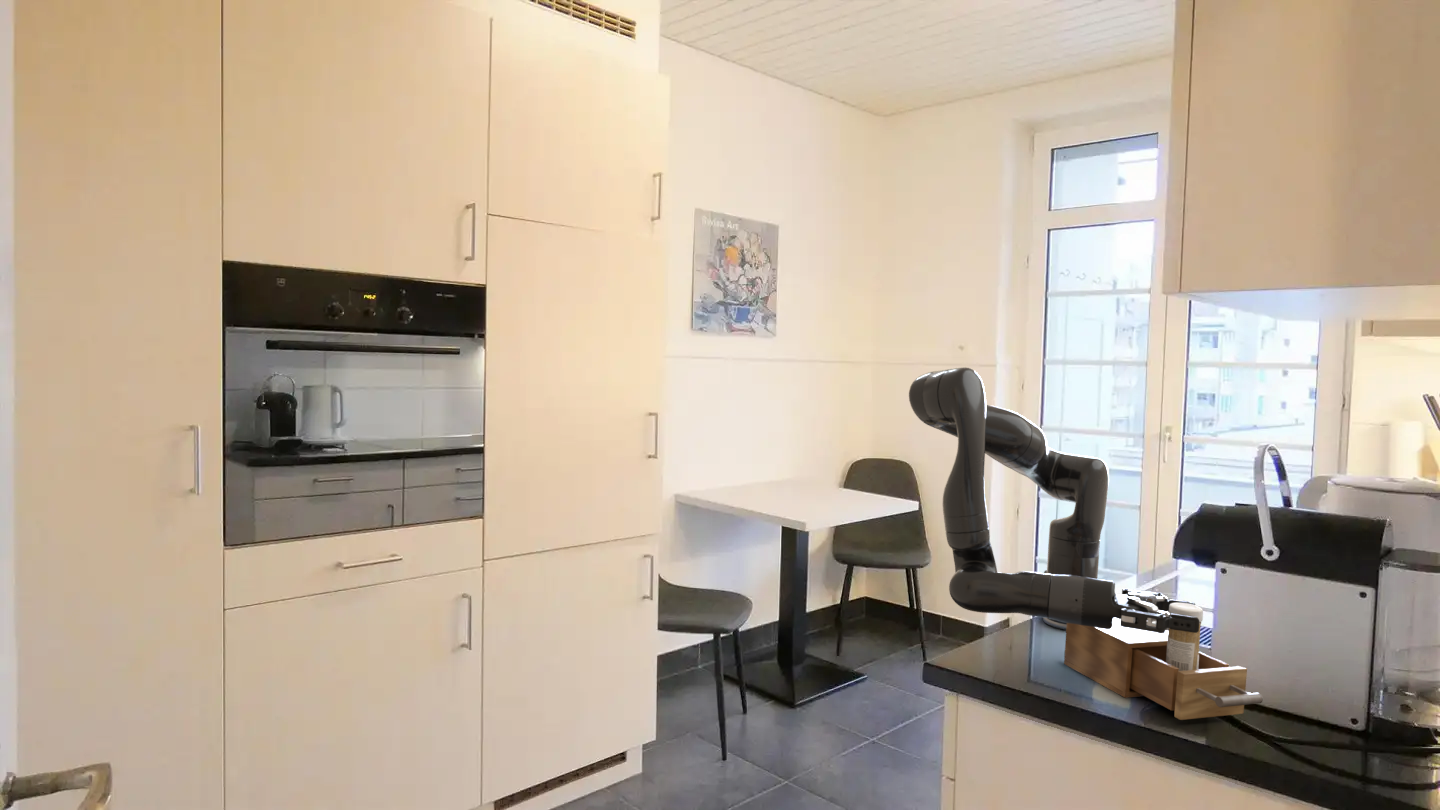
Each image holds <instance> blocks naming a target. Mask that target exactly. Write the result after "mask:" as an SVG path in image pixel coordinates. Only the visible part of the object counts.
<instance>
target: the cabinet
mask: <svg viewBox="0 0 1440 810" xmlns="http://www.w3.org/2000/svg"><path fill="white" fill-rule="evenodd" d="M1120 621H1121V619H1117V618H1113V622H1112V628H1111V629H1103V628H1096V627H1090V626H1084V625H1077V624H1071V623H1067V626H1066V630H1065V640H1064V641H1065V642H1064V643H1065V644H1064V658H1063V659H1064V660H1063V664H1064V665H1065V666H1066V667H1068V668H1070V669H1072V670H1074V671H1076V672H1078V673H1079V674H1081V675H1083V676H1085V677H1086V678H1088V679H1090V680H1092V681H1094V682H1095V683H1098V684H1100V685H1101V686H1103V687H1105V688H1106V689H1108V690H1110V691H1111V692H1114V693H1116V694H1117V695H1119V696H1120V697H1123V698H1125V699H1127V698H1137V697H1144V696H1143V695H1141V694H1140V693H1138V692H1136V691H1134V690H1132V689H1130V675H1131V661H1132V648H1142V647H1156V646H1167V641H1168V632H1169V630H1167V631H1165V633H1157V632H1151V631H1146V630H1140V629H1134V628H1128V627H1122V626H1120Z"/></svg>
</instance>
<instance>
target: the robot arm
mask: <svg viewBox="0 0 1440 810" xmlns="http://www.w3.org/2000/svg"><path fill="white" fill-rule="evenodd" d="M986 398H987V397H986V392H985V386H984V383H983V379H982V378H981V376H980V375H979V374H978V372H976V370H974V369H972V368H970V367H966V366H965V367H955V368H954V367H953V368H949V369H942V370H934V371H928V372H926V373H923V374H920V375H919V376H918V377H916V378H915V379H914V380H913V381H912V383H911V385H910V387H909V391H908V401H909V404H910V407H911V409H912V411H913V414H914V415H915V416H916V417H917V419H918V420H920V421H921V422H923V424H925V425H926V426H929V427H931V428H934V429H937V430H940V431H942V432H944V433H947V434H949V435H951V436H953V437H955V438H957V448H956V449H957V450H956V455H955V459H954V462H953V464H952V467H951V470H950V472H949V475H948V477H947V480H946V483H945V485H944V489H943V493H942V512H943V514H942V515H943V522H944V531H945V537H946V541H947V544H948V547H949V548H950V549H951V550H952V554H953V555H952V556H953V562H954V570H955V571H954V572H955V573H954V574H953V575H952V577H951V578H950V581H949V584H948V591H949V595H950V597H951V599H952V601H953V602H954V603H955V604H956V605H958V606H959V607H960V608H962V609H964V610H967V611H971V612H974V613H975V612H976V613H980V614H981V613H982V614H1021V615H1025V616H1031V617H1035V618H1036V617H1037V618H1041V619H1042V621H1043V623H1045V624H1047V625H1048V626H1050V627H1053V628H1057V629H1060V630H1065V631H1066V626H1067V623H1071V624H1077V625H1084V626H1090V627H1096V628H1103V629H1111V628H1112V622H1113V618H1117V619H1121V621H1120V626H1122V627H1128V628H1134V629H1140V630H1146V631H1151V632H1157V633H1165V631H1167V630H1169V628H1170V629H1173V630H1179V631H1186V632H1193V633H1197V632H1198V631H1199V619H1198V618H1197V617H1193V616H1187V615H1180V614H1173V613H1171V616H1170V613H1169V605H1170V604H1171V603H1188V604H1193V605H1196V603H1195V602H1193V601H1187V600H1181V599H1173V598H1169V597H1167V596H1166V595H1164V593H1162V592H1156V591H1155V592H1154V591H1148V590H1147V591H1145V590H1139V589H1138V590H1137V589H1131V588H1122V589H1121V593H1116V592H1115V591H1116V583H1115V582H1114V581H1113V580H1111V579H1104V578H1103V579H1102V578H1098V577H1099V561H1100V549H1101V547H1100V546H1101V533H1102V530H1103V528H1104V524H1105V518H1106V508H1107V500H1108V492H1109V485H1110V484H1109V483H1110V474H1109V468H1108V466H1107V463H1106V462H1105V461H1104V460H1103V459H1101V458H1098V457H1094V456H1088V455H1080V454H1074V453H1073V454H1072V453H1067V452H1062V451H1057V450H1055V449H1053V448H1051V447H1049V446H1048V440H1047V438H1046V435H1045V433H1044V432H1043V430H1042V429H1041V428H1040V427H1038V426H1037V424H1035V423H1033V422H1032V421H1031V420H1029V419H1027V417H1025V416H1023V415H1021V414H1019V413H1018V412H1015V411H1013V410H1010V409H1006V408H1002V407H999V406H994V405H989V404H987V399H986ZM986 455H987V456H989V457H990V458H991V459H993V460H994V461H996V462H998V463H999V464H1001V465H1002V466H1004V467H1007V468H1009V469H1010V470H1012V471H1014V472H1016V473H1018V474H1020V475H1022V476H1025V478H1028V479H1029V480H1031V481H1032V482H1033V483H1034V484H1035V485H1036V486H1038V487H1039V488H1040V489H1041V490H1042V491H1044V492H1045V493H1046V494H1047V495H1048V496H1050V497H1052V498H1054V499H1056V500H1059V501H1064V502H1068V503H1074V504H1075V505H1074V509H1073V513H1072V514H1070V515H1068V516H1064V517H1059V518H1055V519H1051V521H1050V523H1049V530H1048V547H1047V562H1046V569H1045V570H1044V571H1043V572H1039V571H1031V570H1020V571H1017V572H1012V573H1009V572H999V571H998V569H997V564H996V563H997V562H996V559H995V555H994V550H993V547H992V544H991V539H990V537H991V535H990V526H989V525H990V524H989V516H988V508H987V501H986V490H985V464H986V463H985V462H986Z"/></svg>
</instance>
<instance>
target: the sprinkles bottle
mask: <svg viewBox="0 0 1440 810" xmlns="http://www.w3.org/2000/svg"><path fill="white" fill-rule="evenodd" d="M1169 613H1170V616H1171V613H1173V614H1180V615H1187V616H1193V617H1197V618H1198V619H1199V631H1198V632H1197V633H1193V632H1186V631H1179V630H1173V629H1170V628H1169V632H1168V641H1167V654H1166V663H1168V664H1170V665H1172V666H1175V667H1177V668H1179V671H1186V670H1198V666H1199V651H1200V643H1201V642H1200V641H1201V625H1202V622H1203V618H1204V610H1203V608H1202V607H1201V606H1198V605H1196V604H1195V605H1193V604H1188V603H1171V604H1170V605H1169Z"/></svg>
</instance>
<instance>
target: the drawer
mask: <svg viewBox="0 0 1440 810" xmlns="http://www.w3.org/2000/svg"><path fill="white" fill-rule="evenodd" d="M1166 654H1167V646H1156V647H1142V648H1132V661H1131V675H1130V689H1132V690H1134V691H1136V692H1138V693H1140V694H1141V695H1143V696H1142V697H1145V698H1147V699H1149V700H1150V701H1153V702H1154V703H1156V704H1158V705H1160V706H1162V707H1164V708H1166V709H1168V710H1170V711H1174V718H1175V719H1178V720H1179V721H1186V720H1196V719H1205V718H1215V717H1223V716H1234V715H1243V714H1244V711H1245V706H1246V705H1247V706H1248V705H1256V704H1258V705H1259V704H1262V703H1263V701H1264V698H1263V695H1262V694H1260V693H1259V692H1253V693H1251V692H1249V691H1247V690H1246V689H1247V678H1248V677H1247V676H1248V668H1246V667H1244V666H1241V665H1236V666H1230V664H1229V663H1227V662H1225V661H1223V660H1220V659H1218V658H1216V657H1213V656H1211V655H1208V654H1207V653H1203V652H1202V651H1200V650H1199V666H1198V670H1186V671H1179V668H1177V667H1175V666H1172V665H1170V664H1168V663H1166Z"/></svg>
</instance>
